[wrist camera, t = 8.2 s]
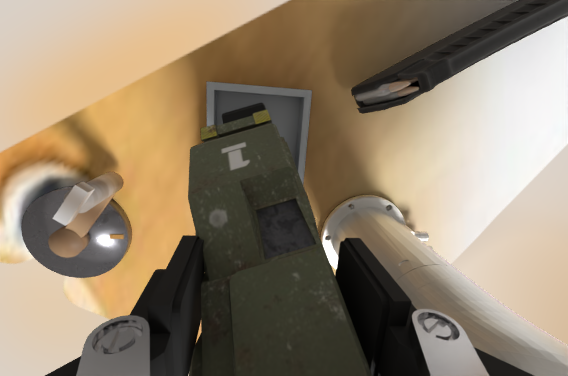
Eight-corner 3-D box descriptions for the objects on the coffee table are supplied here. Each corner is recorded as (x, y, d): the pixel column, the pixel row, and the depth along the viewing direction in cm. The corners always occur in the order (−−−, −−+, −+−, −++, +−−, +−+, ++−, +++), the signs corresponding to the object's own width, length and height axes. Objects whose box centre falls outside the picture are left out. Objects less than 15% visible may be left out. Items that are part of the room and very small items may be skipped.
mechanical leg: (198, 83, 30) (-10, 457, 4) (264, 64, 30) (478, 307, 4) (239, 189, 37) (261, 569, 11) (292, 174, 37) (433, 513, 11)
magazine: (695, -81, 26) (488, 46, 18) (694, -42, 27) (498, 94, 19) (496, 4, 41) (340, 91, 34) (500, 27, 42) (350, 116, 35)
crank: (80, 255, 35) (31, 299, 27) (52, 240, 34) (-7, 281, 26) (136, 177, 33) (100, 200, 25) (107, 159, 32) (61, 176, 24)
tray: (306, 91, 35) (312, 90, 32) (295, 216, 39) (299, 225, 36) (210, 83, 33) (206, 81, 30) (210, 214, 38) (207, 223, 35)
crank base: (128, 188, 35) (122, 191, 34) (135, 271, 39) (130, 277, 37) (22, 184, 34) (11, 188, 32) (39, 271, 37) (30, 278, 36)
